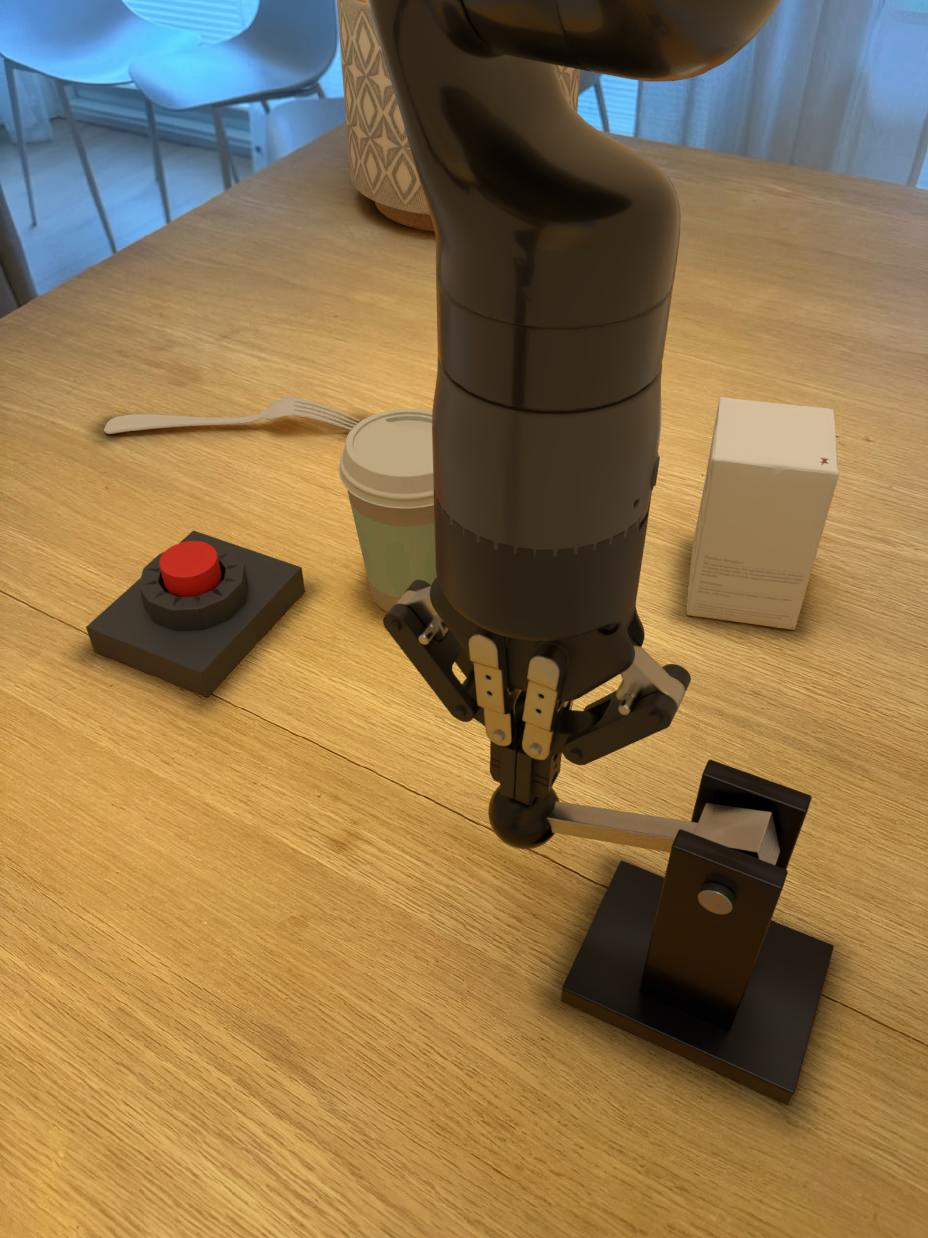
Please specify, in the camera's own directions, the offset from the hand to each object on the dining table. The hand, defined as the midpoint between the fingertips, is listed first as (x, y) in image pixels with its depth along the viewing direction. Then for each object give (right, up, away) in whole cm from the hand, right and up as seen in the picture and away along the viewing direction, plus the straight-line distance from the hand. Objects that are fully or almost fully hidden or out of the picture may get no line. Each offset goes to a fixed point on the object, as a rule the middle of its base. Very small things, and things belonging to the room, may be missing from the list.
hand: (524, 786), depth 48 cm
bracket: (+8, -10, +3) cm, 13 cm away
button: (-20, +10, +19) cm, 30 cm away
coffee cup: (-6, +9, +24) cm, 27 cm away
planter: (-3, +56, +75) cm, 94 cm away
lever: (+5, -3, -1) cm, 6 cm away
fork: (-22, +23, +39) cm, 50 cm away
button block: (-20, +7, +22) cm, 31 cm away
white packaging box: (+16, +10, +24) cm, 31 cm away
